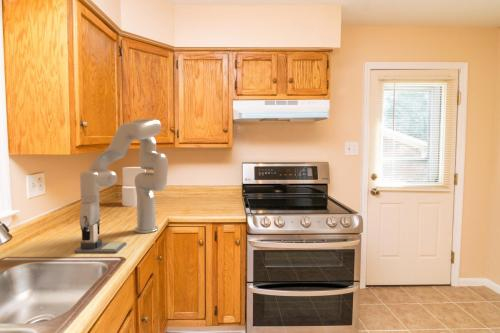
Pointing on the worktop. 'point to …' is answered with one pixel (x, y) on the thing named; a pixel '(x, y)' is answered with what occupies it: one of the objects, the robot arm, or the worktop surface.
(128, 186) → the white tall block
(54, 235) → the worktop surface
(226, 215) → the worktop surface
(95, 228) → the plug
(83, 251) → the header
